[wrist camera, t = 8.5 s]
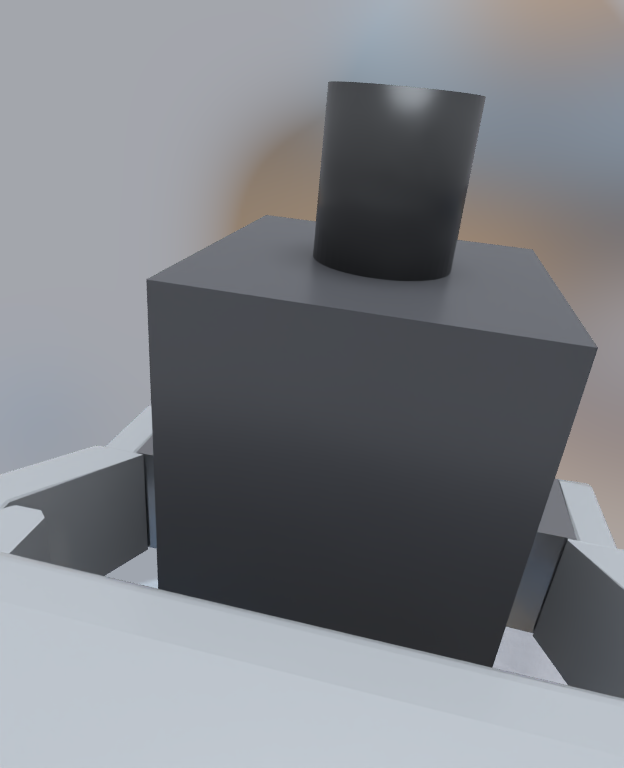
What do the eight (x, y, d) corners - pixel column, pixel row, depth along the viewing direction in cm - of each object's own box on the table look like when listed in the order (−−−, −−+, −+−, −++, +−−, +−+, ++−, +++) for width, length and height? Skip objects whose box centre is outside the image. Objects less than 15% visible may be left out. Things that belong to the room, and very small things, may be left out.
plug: (419, 742, 15) (590, 114, 9) (408, 1017, 10) (762, 107, 4) (230, 693, 16) (255, 82, 9) (142, 929, 11) (68, 46, 5)
